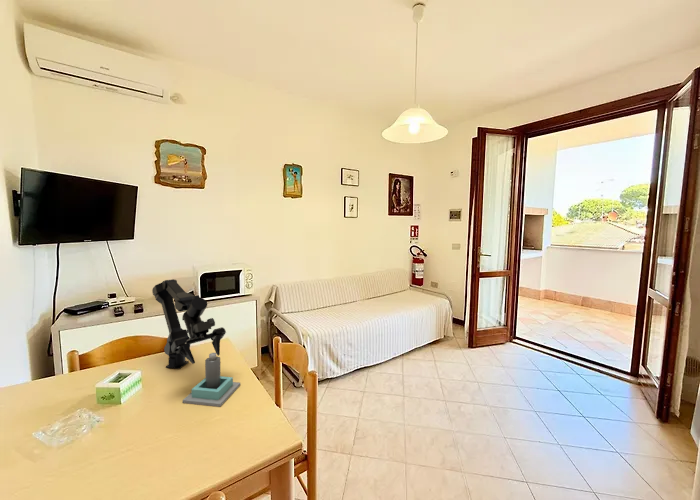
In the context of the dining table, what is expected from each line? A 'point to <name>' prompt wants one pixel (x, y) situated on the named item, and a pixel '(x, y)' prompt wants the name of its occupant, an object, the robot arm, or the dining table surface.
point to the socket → (212, 393)
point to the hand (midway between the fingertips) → (206, 359)
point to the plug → (212, 371)
